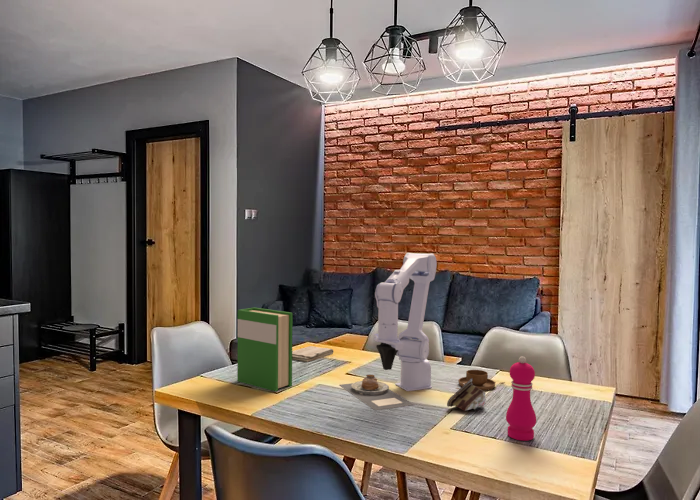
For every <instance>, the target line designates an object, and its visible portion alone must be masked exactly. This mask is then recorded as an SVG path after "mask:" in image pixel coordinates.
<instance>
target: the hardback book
mask: <svg viewBox="0 0 700 500" xmlns="http://www.w3.org/2000/svg"><path fill="white" fill-rule="evenodd" d="M293 323H294V322H293V312H289V311H283V310H276V309H267V308H263V307H262V308H259V307H250V308H249V307H248V308H241V309H237V369H236V371H237V373H236V374H237V376H236V378H237V379H236V381H237V382H240V383H244V384H247V385H251V386H253V387H257V388H262V389H265V390H269V391H272V392H279V389H280V388H284V387H289V388H290V387H292V386H293V359H292V351H293Z"/></svg>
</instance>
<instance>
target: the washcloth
mask: <svg viewBox="0 0 700 500" xmlns="http://www.w3.org/2000/svg"><path fill="white" fill-rule="evenodd" d="M333 354H334V349H332V348H328V347H319V346H318V347H317V346H314V345H313V346H312V345H311V346H306V347H302V348H299V349H295V350H292V361H293V360H294V361H299V362H304V363H309V362H313V361H316V360H319V359H322V358H325V357H328V356H331V355H333Z"/></svg>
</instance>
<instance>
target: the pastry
mask: <svg viewBox="0 0 700 500" xmlns="http://www.w3.org/2000/svg"><path fill="white" fill-rule="evenodd" d="M352 383H353V384H352V385H351V387H352V388H353V389H355V390H357V392H359V393H361V394H369V395H378V394H383V393H384V392H386V390H387V389H389V388H390V385H388V384H387V383H385V382H382V381H379V380H378V379H377V377H375V375H374V374H366V377H363V379H362V380H359V381H355V382H352Z"/></svg>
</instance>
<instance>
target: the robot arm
mask: <svg viewBox="0 0 700 500" xmlns="http://www.w3.org/2000/svg"><path fill="white" fill-rule="evenodd" d="M437 263H438V262H437V257H436V255H435V253H433V252H432V253H431V252H430V253H418V252H417V253H415V252H414V253H413V252H406V253H405V255H404V257H403V260H402V266H401V267H400V269H394V271H393V272H392V273H391V274H390V276H388V278H387V279H386V280H385V281H384V282H380V283H378V284H377V285H376V288H375V292H374V298H375V300H376V308H378V319H377V320H378V325H377V328H378V329H377V330H378V331H377V332H378V333H373V341H375V342H376V343H380V344H376V345H375V346H376V349H377V351H378V353H379V356H380V361H381V366H382V369H383V370H385V371H389V370H392V369H393V364H394V360H395V359H396V356H397V357H398V360H399V361H400V382H395V383H394V384H395V385H396V386H397V387H398V388H400V389H402V390H405V391H406V392H411V391H419V390H426V389H427V390H428V389H432V388H433V386H432V365H431V363H430V361H429V360H428V357H429V355H430V345H429V343H430V339H429V336H428V335H427V334H425V332H424V331H423V327H424V322H425V321H424V320H425V313H426V308H427V301H428V296H429V295H428V294H429V289H430V282H433V281H434V280H435V277H436V272H437V265H438V264H437ZM410 280H412V281H413V283H414V285H413V289H412V290H413V291H412V297H411V304H410V307H409V310H410V311H409V314H408V321H407V327H406V329H404V330H403V331H401V332H400V333H399V334H398V331H399V329H398V327H399V326H398V325H399V303H400V302H401V299H402V297H403V293H404V290H405V288H406V287H407V286H408V285H409V283H410Z"/></svg>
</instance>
